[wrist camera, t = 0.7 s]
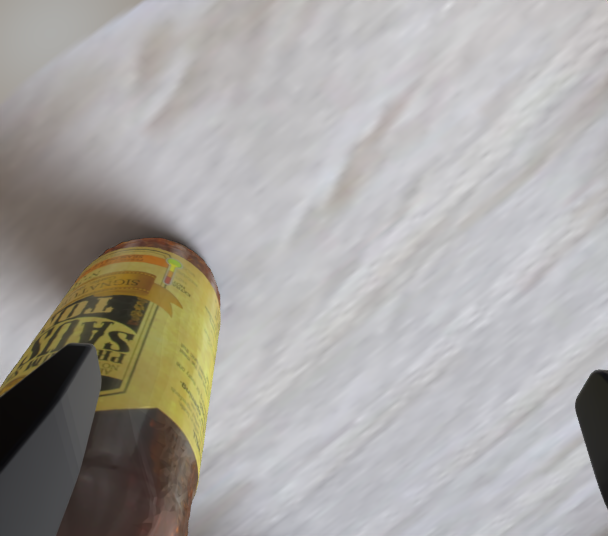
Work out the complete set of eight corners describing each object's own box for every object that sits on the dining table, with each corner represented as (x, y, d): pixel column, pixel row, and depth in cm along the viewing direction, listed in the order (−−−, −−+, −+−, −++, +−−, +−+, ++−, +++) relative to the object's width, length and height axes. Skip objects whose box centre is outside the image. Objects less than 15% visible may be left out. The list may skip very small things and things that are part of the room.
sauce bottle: (164, 203, 22) (-203, 967, 4) (249, 307, 24) (262, 1068, 6) (47, 283, 23) (-684, 1198, 5) (140, 375, 25) (-116, 1207, 7)
